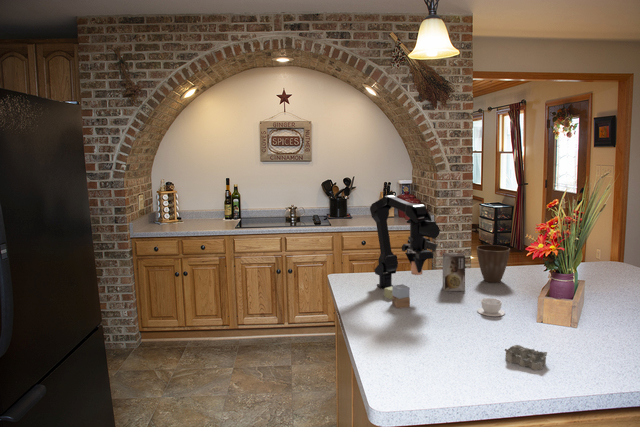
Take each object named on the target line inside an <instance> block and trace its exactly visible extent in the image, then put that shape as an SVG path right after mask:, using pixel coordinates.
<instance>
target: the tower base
mask: <svg viewBox="0 0 640 427" xmlns="http://www.w3.org/2000/svg"><path fill="white" fill-rule="evenodd" d="M410 303H411V298H410V297H407V298H400V299H398V298H397V297H395V296H393V295H392V299H391V304H392V305H393V306H394V307H395V308H396V309H402V308H410V307H411V304H410Z"/></svg>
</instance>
